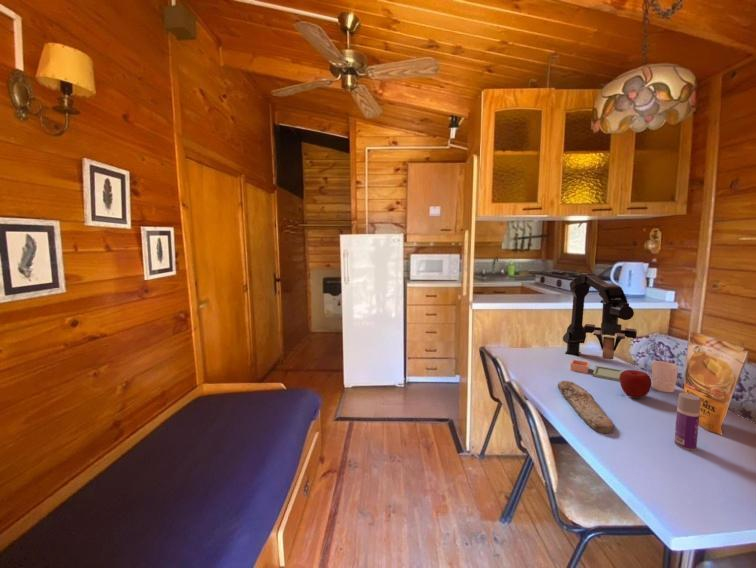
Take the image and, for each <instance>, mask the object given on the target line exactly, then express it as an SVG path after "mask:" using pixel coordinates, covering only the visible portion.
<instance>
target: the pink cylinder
mask: <svg viewBox="0 0 756 568" xmlns="http://www.w3.org/2000/svg"><path fill="white" fill-rule="evenodd" d="M678 372H679V366H678V365H676V364H674V363H672V362H668V361H661V360H660V361H658V360H655V361H652V362H651V382H652V383H651V388H653V389H654V390H656V391H659V392H662V393H663V392H664V393H674V392H675V391H676V389H675V388H676V384H677V378H678Z"/></svg>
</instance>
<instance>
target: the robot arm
mask: <svg viewBox="0 0 756 568" xmlns="http://www.w3.org/2000/svg"><path fill="white" fill-rule="evenodd" d="M591 287H592V288H593V289H595V290H596V291H597V292H598V295H599V296H600V298H601V300H600V303H601V304H602V311H601V312H602V313H601V314H602V315H601V323H600V327H599V326H598V327H597V326H596V324H591V323H590V324H589V323H585V325H583V323H584V322H583V320H584V309H585V308H584V307H585V298H586V297H587V296H588V294H589V292H590V289H591ZM569 291H570V293H571V294H572V296H573V297H572V311H571V322H570V324H569V325H568V326H567V329H566V332H565V333H564V335H563V336H562V341H563V343H566V351H565V353H564V354H565V355H570V356H576V357H579V356H580V355H581V353H582V352H581V351H580V350H581V349H580V348H581V347H580V345H581V344H585V341H586V338H587V334H592V333H593V336H595V337H597V340H598V342H599V346H600V348H601V350H603V337H604V336H606V335H607V336H610V337H615V336H616V337H615V341H614V352H616V350H617V348H618V346H619V343H620V342H621V340H624V339H626V338H628V339H637V333H638V332H637V331H638V330H637V329H635V328H629V327H625V328H624V329H622V324H619V319H620V320H624V321H629V320H631V319H632V318H633V317H634V315H635V311H634V308H632V307H631V306H630V303H629V302H628V298H627V296H626V293H624V292H625V291H624V290H623V288H622V286H620V285H617V284H612V283H608V282H606V281H605V280H603V279H601V278H600V277H598V276H596V274H594V273H583V274H581V275H580V276H578V277H575V278H574V279H572V280H571V281H570V282H569Z"/></svg>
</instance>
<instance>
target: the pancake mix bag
mask: <svg viewBox="0 0 756 568" xmlns="http://www.w3.org/2000/svg"><path fill="white" fill-rule="evenodd" d="M687 334H688V335H687V336H688V337H687V350H686V357H685V366H684V382H683V383H684V386H683V393H689V394H693V395H696V396H698V397H700V413H699V425H698V426H700V428H702V429H704V430H706V431H708V432H710V433H714V434H717V435H720V436H723V434H724V431H723V428H722V427H723V423H724V420H725V417H726V415H727V412H728V409H729V406H730V404H731V400H732V399H733V396H734V393H735V390H736V387H737V386H738V384H739V380H740V378H741V375H742V372H743V370H744V368H745V365H746V364H747V362H748V359H749V351H748V350H747V349H746V348H745V347H743V346H742V345H739V344H737V343H734V342H729V341H725V340H723V339H719V338H717V337H714V336H711V335H707V334H704V333H702V332H697V331H689V332H687Z"/></svg>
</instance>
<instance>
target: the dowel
mask: <svg viewBox="0 0 756 568" xmlns="http://www.w3.org/2000/svg"><path fill="white" fill-rule="evenodd" d="M615 341H616V337H614V336H603V349H602V359H605V360H614V358H615V354H614V353H615V351H614V346H615Z"/></svg>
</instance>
